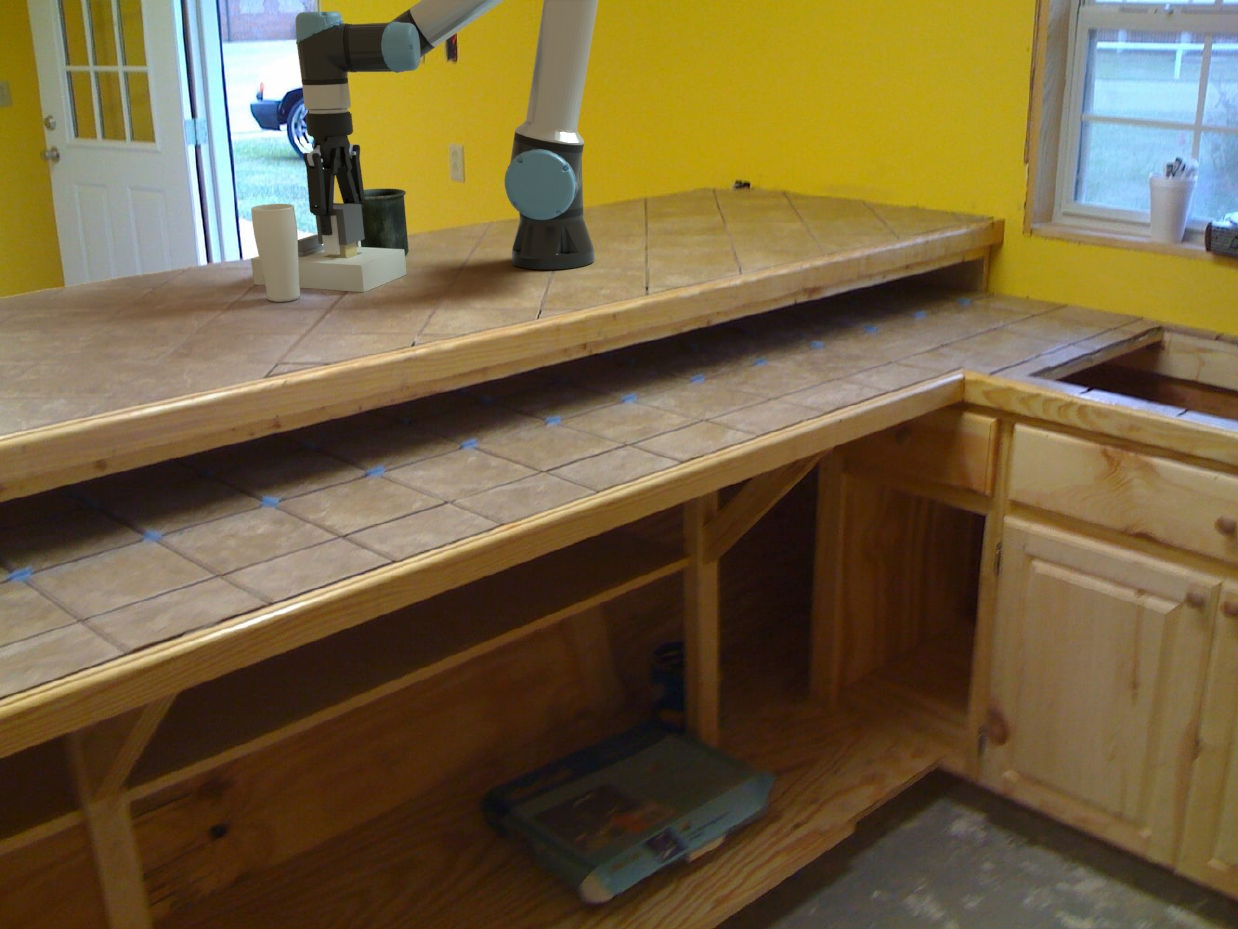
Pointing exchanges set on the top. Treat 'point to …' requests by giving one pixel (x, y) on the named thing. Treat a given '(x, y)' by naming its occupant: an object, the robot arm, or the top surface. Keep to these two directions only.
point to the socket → (345, 269)
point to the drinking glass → (277, 250)
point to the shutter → (309, 245)
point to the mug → (384, 219)
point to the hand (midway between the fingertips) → (342, 249)
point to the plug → (346, 228)
